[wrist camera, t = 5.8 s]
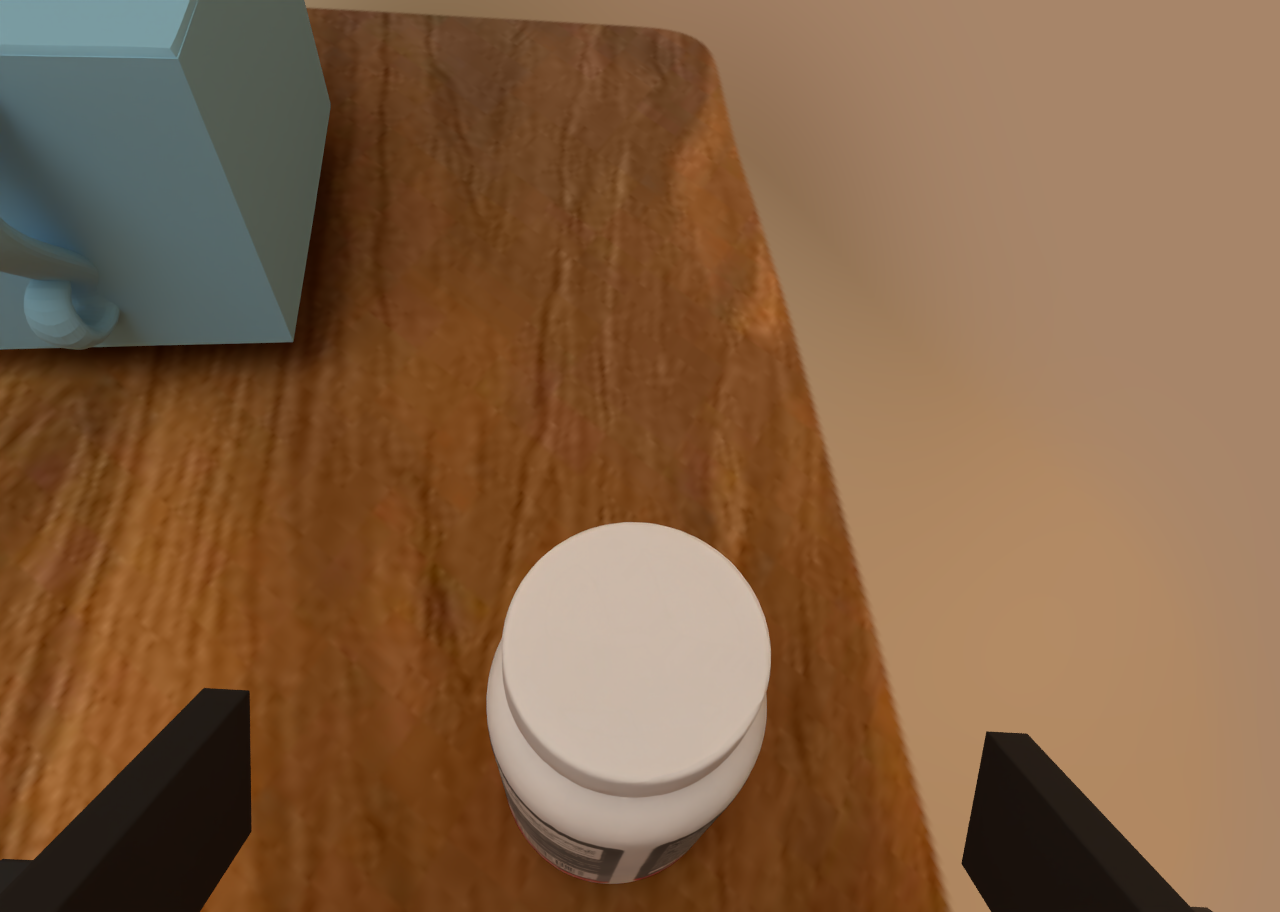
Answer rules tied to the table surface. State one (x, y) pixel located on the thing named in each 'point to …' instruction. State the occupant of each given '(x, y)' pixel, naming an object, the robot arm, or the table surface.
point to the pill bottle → (627, 698)
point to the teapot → (156, 170)
